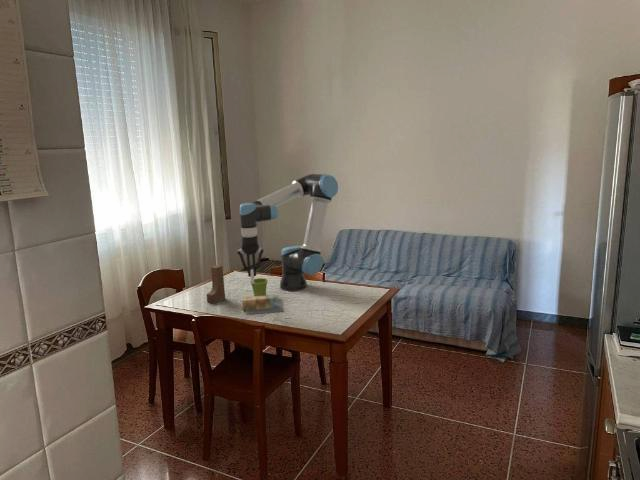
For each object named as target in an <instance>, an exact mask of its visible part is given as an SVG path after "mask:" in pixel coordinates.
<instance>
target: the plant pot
mask: <svg viewBox="0 0 640 480" xmlns="http://www.w3.org/2000/svg"><path fill="white" fill-rule="evenodd" d="M268 281H269V279H267V278H263V277H262V278H261V277H260V278H259V277H257V278H254V283H251V280H250V281H249V284H250V285H251V287H252V291H253V295H254V296H267V285H268ZM254 296H253V297H254Z"/></svg>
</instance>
